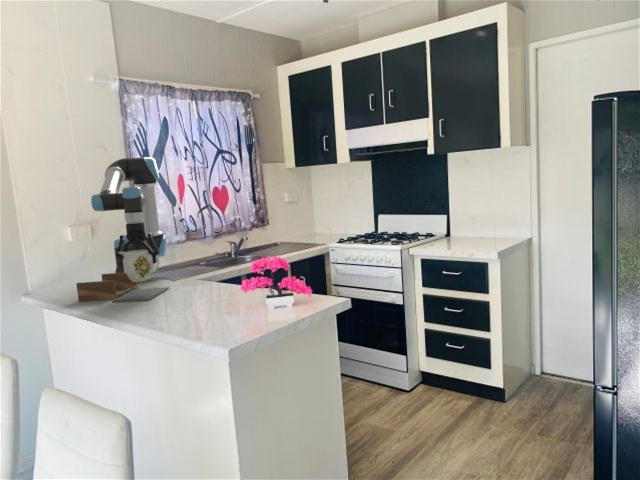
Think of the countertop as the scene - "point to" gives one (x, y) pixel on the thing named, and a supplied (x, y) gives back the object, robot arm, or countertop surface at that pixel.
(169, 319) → the countertop surface
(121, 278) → the walnut cradle
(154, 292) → the rubber mat
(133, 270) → the pitcher
